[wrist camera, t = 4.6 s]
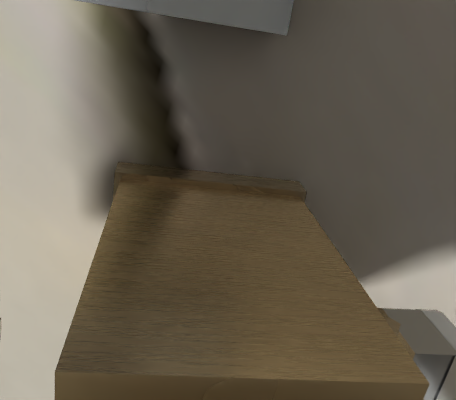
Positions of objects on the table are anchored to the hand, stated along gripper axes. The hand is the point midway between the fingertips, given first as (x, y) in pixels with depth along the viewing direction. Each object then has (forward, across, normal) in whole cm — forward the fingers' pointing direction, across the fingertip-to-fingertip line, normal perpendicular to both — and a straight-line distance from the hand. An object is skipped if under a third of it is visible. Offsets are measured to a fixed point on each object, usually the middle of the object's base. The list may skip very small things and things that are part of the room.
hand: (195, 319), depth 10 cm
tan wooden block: (+3, 0, 0) cm, 3 cm away
